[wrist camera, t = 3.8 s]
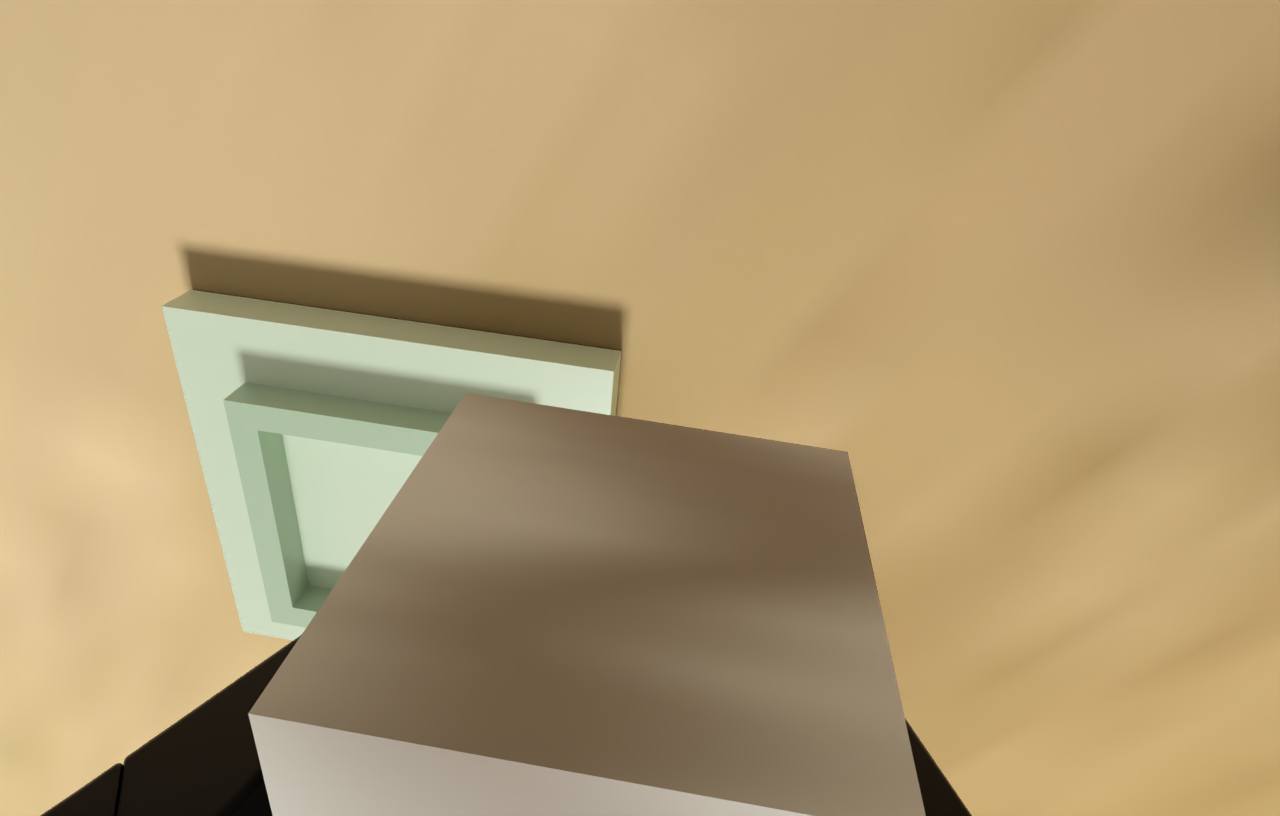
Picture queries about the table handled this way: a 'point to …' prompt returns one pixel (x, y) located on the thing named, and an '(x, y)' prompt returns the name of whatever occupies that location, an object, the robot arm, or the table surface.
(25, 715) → the table surface
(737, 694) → the cream brick
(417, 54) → the table surface
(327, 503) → the baseplate
